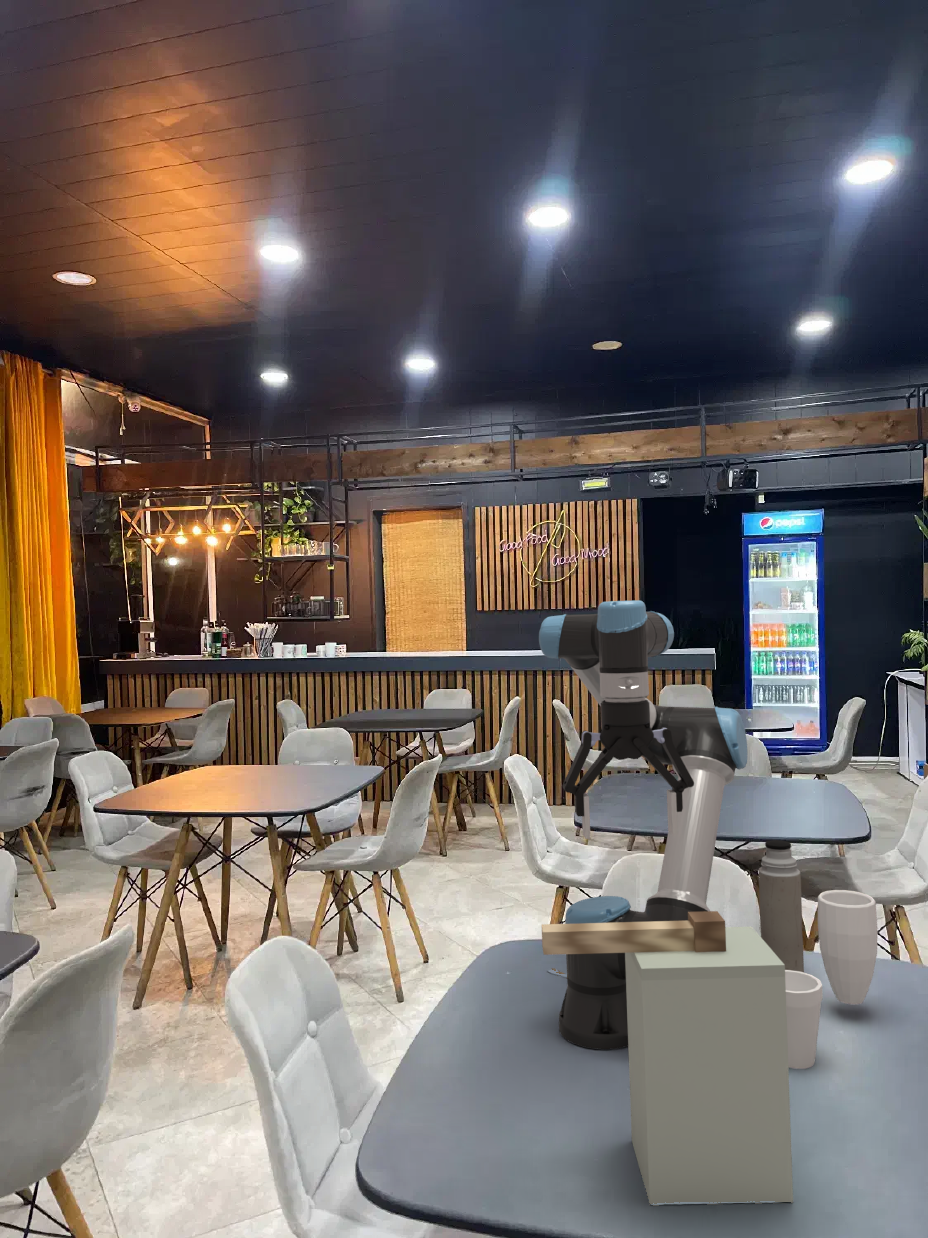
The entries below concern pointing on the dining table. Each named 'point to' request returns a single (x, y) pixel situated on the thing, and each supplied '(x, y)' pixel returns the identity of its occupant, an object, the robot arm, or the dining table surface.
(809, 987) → the foam cup
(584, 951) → the beech bar
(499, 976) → the dining table surface
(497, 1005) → the dining table surface
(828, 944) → the cup
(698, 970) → the stand
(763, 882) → the thermos bottle
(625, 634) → the robot arm
